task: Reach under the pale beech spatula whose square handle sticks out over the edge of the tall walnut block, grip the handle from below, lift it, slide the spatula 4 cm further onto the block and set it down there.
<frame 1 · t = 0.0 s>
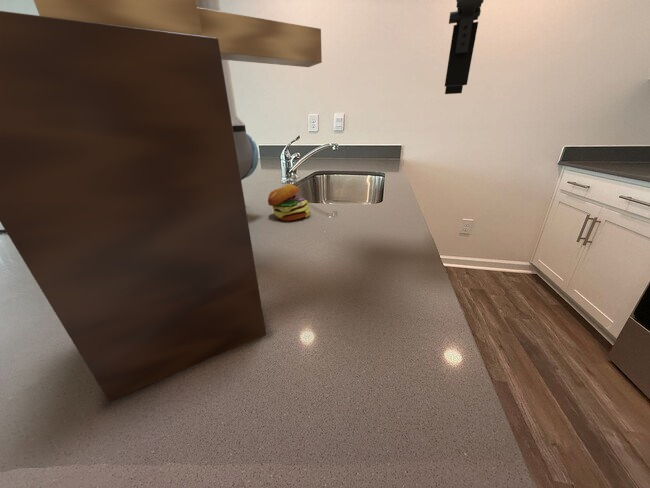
hand: (454, 90, 40), 28 cm above the counter, tool pointing down, fingers open, 13 cm apart
cheeseburger: (290, 217, 73), on the counter
stand: (215, 321, 35), on the counter
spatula: (141, 48, 22), point 30 cm above the counter, touching stand
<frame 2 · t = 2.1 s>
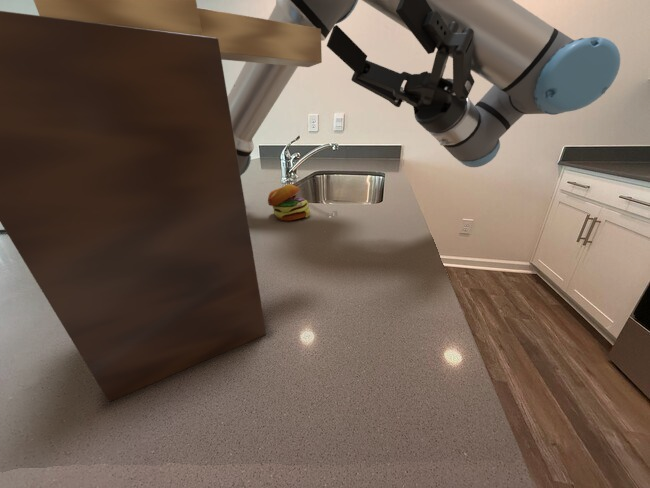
hand: (361, 18, 31), 35 cm above the counter, tool pointing upward, fingers open, 13 cm apart
nothing on the counter moved.
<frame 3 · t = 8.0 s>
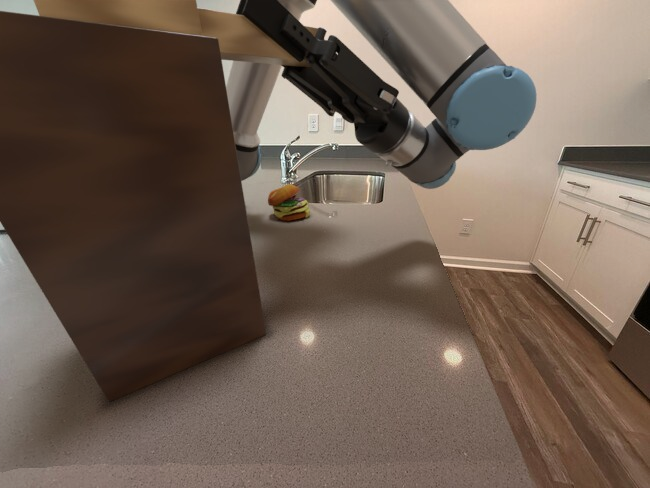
hand: (242, 4, 24), 34 cm above the counter, tool pointing upward, fingers closed on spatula, 3 cm apart
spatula: (141, 48, 22), point 30 cm above the counter, touching gripper, stand
everything else where it was.
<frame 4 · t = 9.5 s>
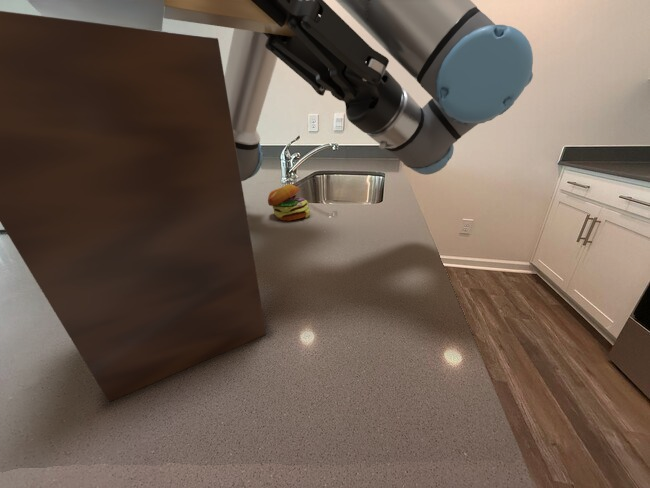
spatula: (105, 3, 20), point 33 cm above the counter, touching gripper
everything else where it was.
when the fingers open (34 cm above the counter, at t = 11.3 s): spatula stays where it is, resting on stand.
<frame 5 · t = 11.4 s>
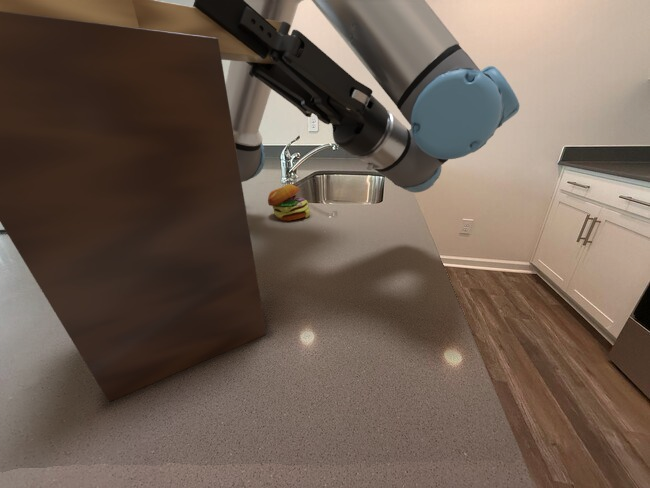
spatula: (80, 43, 20), point 30 cm above the counter, touching stand
everything else where it was.
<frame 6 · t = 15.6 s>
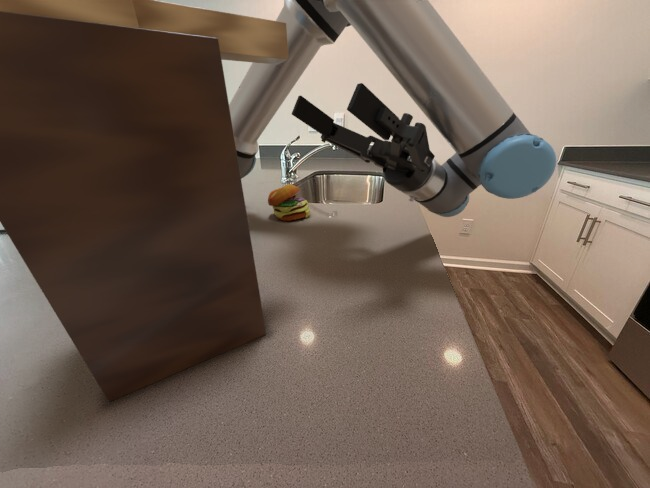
hand: (319, 101, 32), 26 cm above the counter, tool pointing upward, fingers open, 13 cm apart
nothing on the counter moved.
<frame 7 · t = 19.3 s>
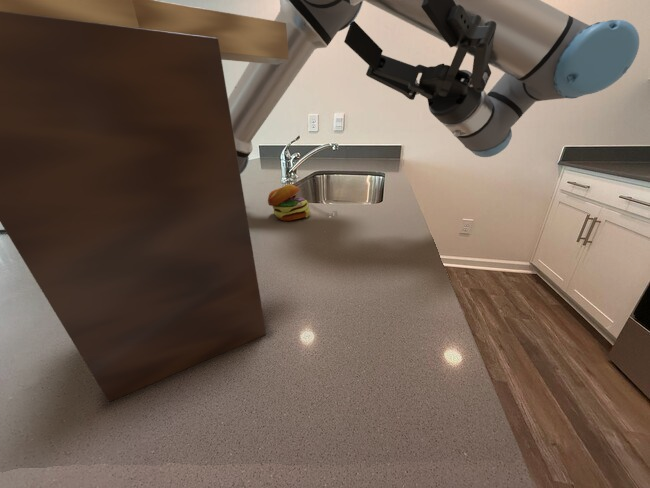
hand: (381, 13, 32), 36 cm above the counter, tool pointing upward, fingers open, 13 cm apart
nothing on the counter moved.
at the end: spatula 0.1 cm from the target spot, point 30.0 cm above the counter; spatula tilted 0°; the gripper is holding nothing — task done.
